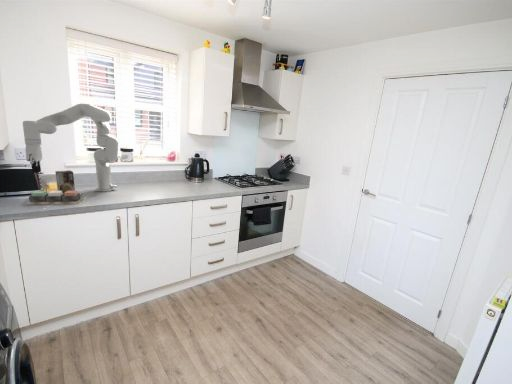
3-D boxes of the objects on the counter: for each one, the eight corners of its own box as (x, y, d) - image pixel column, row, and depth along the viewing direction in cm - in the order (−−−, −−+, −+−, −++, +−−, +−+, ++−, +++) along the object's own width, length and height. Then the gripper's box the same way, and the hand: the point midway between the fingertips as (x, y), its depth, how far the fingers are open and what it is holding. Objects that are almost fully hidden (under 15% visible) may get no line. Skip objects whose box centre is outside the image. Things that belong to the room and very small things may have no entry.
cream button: (62, 195, 171) (62, 190, 171) (59, 198, 166) (59, 192, 165) (52, 195, 169) (51, 190, 169) (48, 198, 164) (48, 193, 163)
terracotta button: (78, 195, 174) (77, 190, 173) (75, 198, 169) (75, 192, 168) (67, 195, 172) (67, 190, 171) (64, 198, 167) (64, 192, 166)
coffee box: (72, 191, 192) (70, 170, 188) (75, 193, 188) (73, 171, 184) (57, 193, 185) (55, 171, 181) (60, 195, 181) (58, 172, 177)
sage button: (47, 195, 168) (46, 190, 168) (43, 198, 163) (42, 193, 162) (36, 196, 166) (35, 190, 166) (32, 198, 161) (31, 193, 160)
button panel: (83, 198, 178) (82, 192, 177) (78, 203, 168) (77, 196, 167) (34, 199, 169) (33, 192, 168) (26, 204, 159) (25, 197, 158)
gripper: (31, 140, 163) (34, 169, 167) (18, 142, 148) (23, 174, 152) (46, 141, 165) (49, 170, 169) (35, 143, 151) (38, 174, 155)
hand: (36, 172), depth 161 cm, fingers closed
